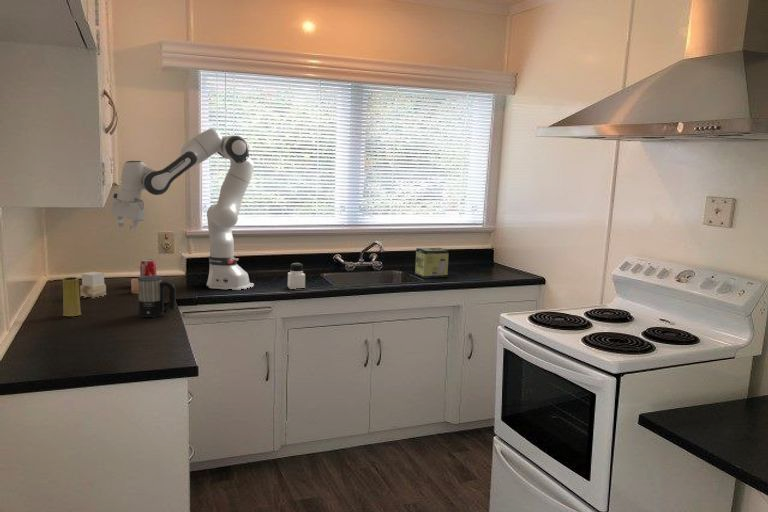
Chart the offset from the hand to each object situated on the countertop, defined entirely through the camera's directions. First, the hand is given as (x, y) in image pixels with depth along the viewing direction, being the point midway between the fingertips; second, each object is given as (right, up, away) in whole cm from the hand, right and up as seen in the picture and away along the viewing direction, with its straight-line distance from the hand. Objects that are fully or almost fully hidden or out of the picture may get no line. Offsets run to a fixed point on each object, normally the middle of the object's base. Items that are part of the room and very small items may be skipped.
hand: (126, 228), depth 261 cm
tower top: (-11, -25, -7) cm, 28 cm away
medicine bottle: (+71, -28, +26) cm, 81 cm away
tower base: (-11, -30, -6) cm, 32 cm away
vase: (-4, -35, -38) cm, 52 cm away
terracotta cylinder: (+4, -29, +3) cm, 29 cm away
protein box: (+140, -24, +70) cm, 158 cm away
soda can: (+2, -26, +19) cm, 33 cm away
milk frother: (+25, -35, -29) cm, 51 cm away
